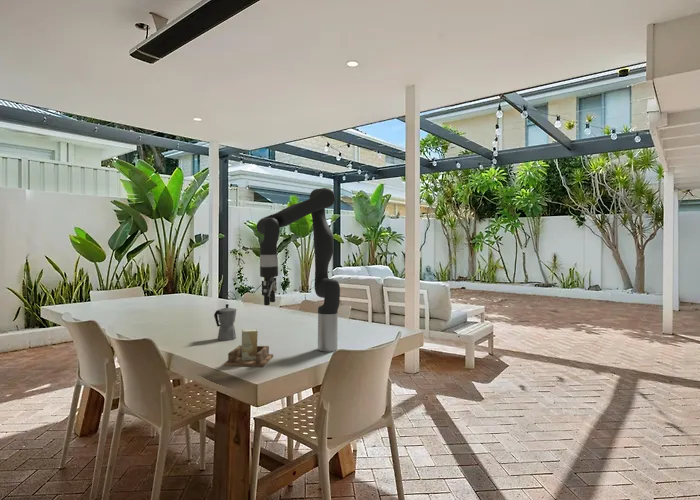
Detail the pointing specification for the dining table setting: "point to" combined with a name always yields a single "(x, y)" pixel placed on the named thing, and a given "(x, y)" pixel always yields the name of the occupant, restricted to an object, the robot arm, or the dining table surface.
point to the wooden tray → (260, 361)
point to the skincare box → (249, 344)
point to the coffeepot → (226, 323)
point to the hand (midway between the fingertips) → (269, 303)
